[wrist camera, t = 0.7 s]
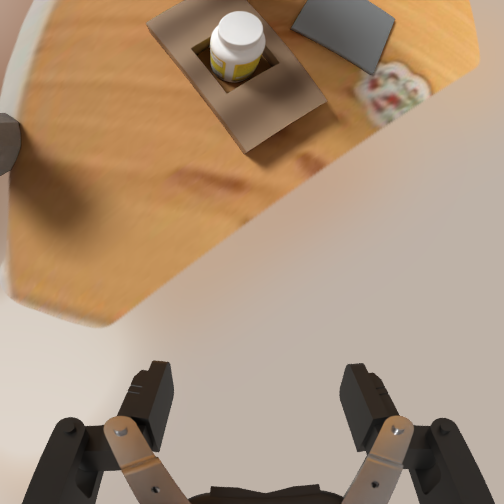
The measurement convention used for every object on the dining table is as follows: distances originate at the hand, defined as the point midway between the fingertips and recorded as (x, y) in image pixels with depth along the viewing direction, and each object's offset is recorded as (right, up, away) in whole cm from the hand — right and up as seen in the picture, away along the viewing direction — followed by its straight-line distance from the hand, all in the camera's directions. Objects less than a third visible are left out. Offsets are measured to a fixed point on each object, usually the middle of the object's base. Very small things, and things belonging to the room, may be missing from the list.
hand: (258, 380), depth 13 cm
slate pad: (+12, +37, +17) cm, 42 cm away
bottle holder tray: (-2, +28, +18) cm, 33 cm away
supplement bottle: (-2, +28, +18) cm, 33 cm away
